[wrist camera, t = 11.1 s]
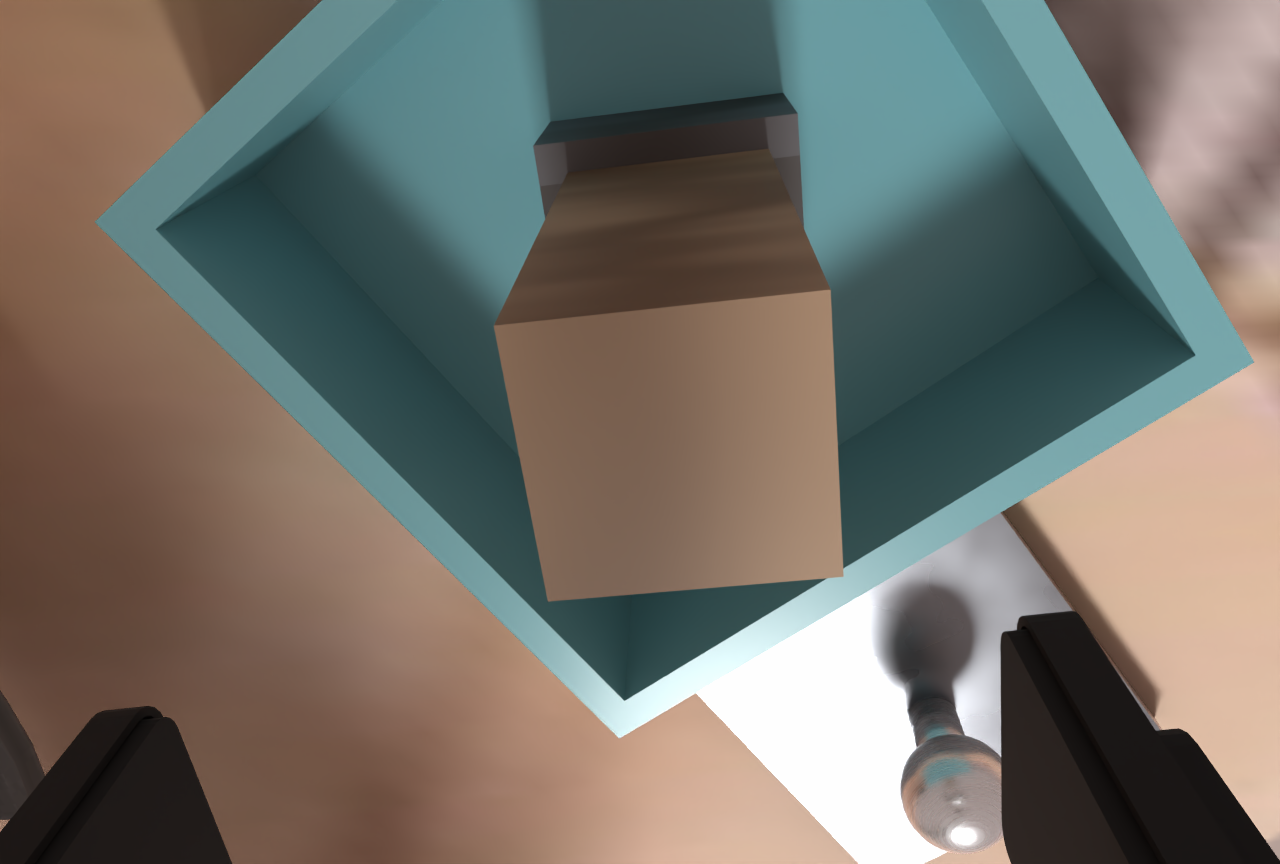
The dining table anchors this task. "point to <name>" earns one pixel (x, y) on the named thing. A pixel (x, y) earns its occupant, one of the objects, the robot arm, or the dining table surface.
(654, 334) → the strut
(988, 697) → the base
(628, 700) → the bin
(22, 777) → the zipper pull
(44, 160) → the dining table surface
